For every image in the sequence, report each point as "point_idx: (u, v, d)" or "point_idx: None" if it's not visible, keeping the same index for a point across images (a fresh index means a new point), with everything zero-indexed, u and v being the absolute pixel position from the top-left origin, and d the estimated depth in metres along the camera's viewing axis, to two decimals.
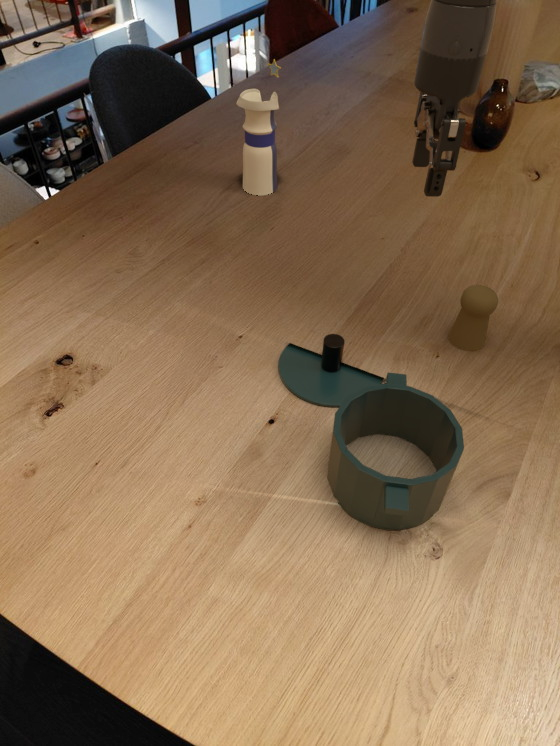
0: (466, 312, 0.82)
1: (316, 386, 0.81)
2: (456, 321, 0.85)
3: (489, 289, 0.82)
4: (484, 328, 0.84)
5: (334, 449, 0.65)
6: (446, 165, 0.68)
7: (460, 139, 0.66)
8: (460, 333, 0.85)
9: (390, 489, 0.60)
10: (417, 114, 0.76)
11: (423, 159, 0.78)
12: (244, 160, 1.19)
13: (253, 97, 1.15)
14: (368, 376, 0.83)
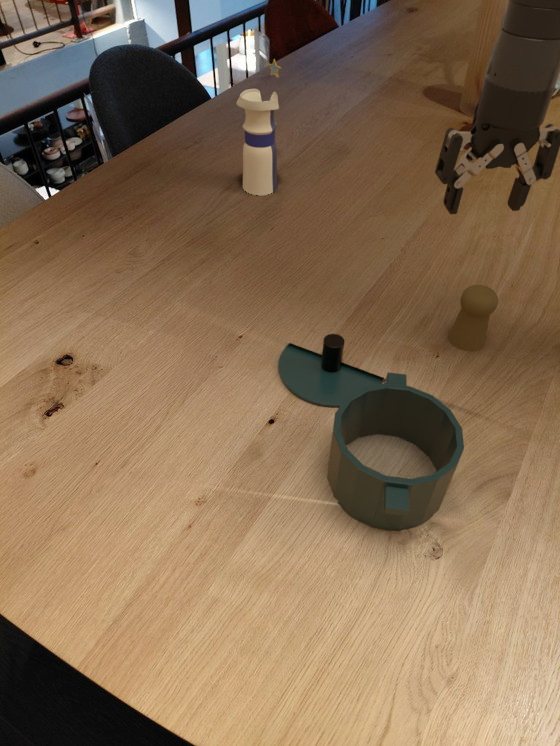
0: (466, 312, 0.82)
1: (316, 386, 0.81)
2: (456, 321, 0.85)
3: (489, 289, 0.82)
4: (484, 328, 0.84)
5: (334, 449, 0.65)
6: (439, 174, 0.70)
7: (448, 152, 0.67)
8: (460, 333, 0.85)
9: (390, 489, 0.60)
10: None
11: (513, 201, 0.74)
12: (244, 160, 1.19)
13: (253, 97, 1.15)
14: (368, 376, 0.83)
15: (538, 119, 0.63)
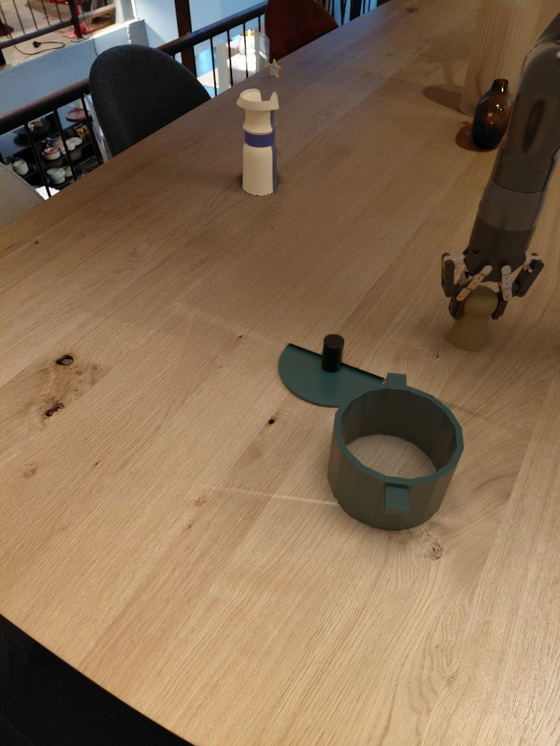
0: (466, 312, 0.82)
1: (316, 386, 0.81)
2: (456, 321, 0.85)
3: (489, 289, 0.82)
4: (484, 328, 0.84)
5: (334, 449, 0.65)
6: (444, 287, 0.81)
7: (444, 275, 0.78)
8: (460, 333, 0.85)
9: (390, 489, 0.60)
10: None
11: None
12: (244, 160, 1.19)
13: (253, 97, 1.15)
14: (368, 376, 0.83)
15: (521, 250, 0.73)
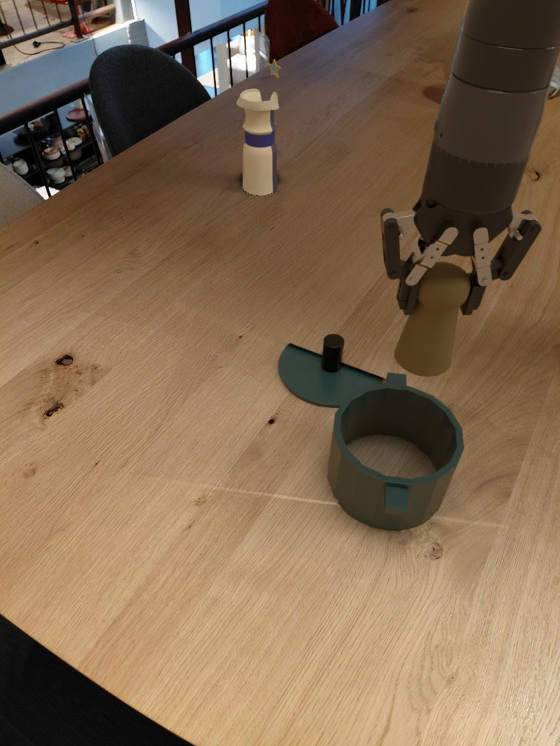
0: (422, 303, 0.54)
1: (316, 386, 0.81)
2: (409, 317, 0.57)
3: (457, 268, 0.53)
4: (450, 328, 0.55)
5: (334, 449, 0.65)
6: None
7: (385, 243, 0.49)
8: (415, 335, 0.56)
9: (390, 489, 0.60)
10: None
11: (464, 302, 0.55)
12: (244, 160, 1.19)
13: (253, 97, 1.15)
14: (368, 376, 0.83)
15: (503, 200, 0.44)
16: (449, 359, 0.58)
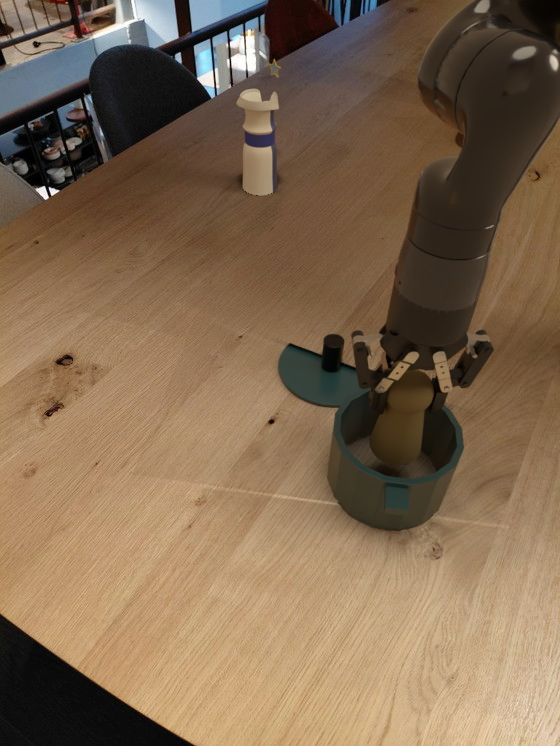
0: (391, 406, 0.60)
1: (316, 386, 0.81)
2: None
3: (422, 375, 0.59)
4: (417, 426, 0.61)
5: (334, 449, 0.65)
6: None
7: (355, 362, 0.55)
8: (386, 431, 0.62)
9: (390, 489, 0.60)
10: None
11: None
12: (244, 160, 1.19)
13: (253, 97, 1.15)
14: None
15: (455, 335, 0.50)
16: (418, 449, 0.64)
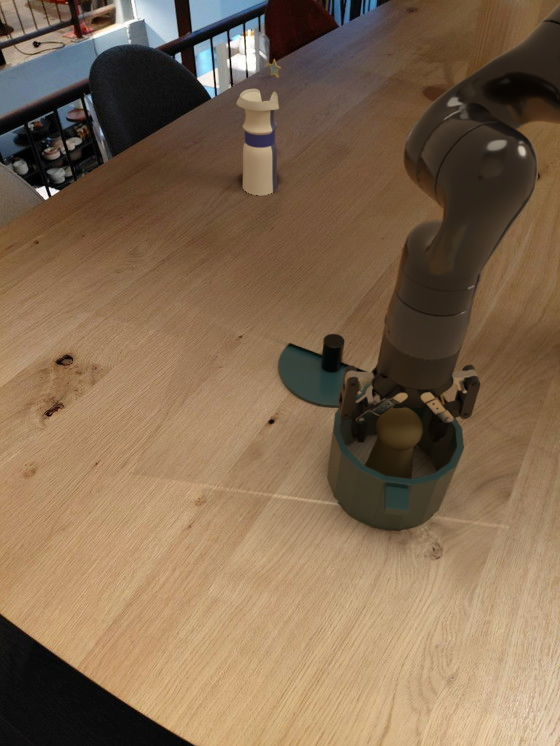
0: (383, 443, 0.64)
1: (316, 386, 0.81)
2: (374, 448, 0.67)
3: (411, 415, 0.64)
4: (407, 460, 0.66)
5: (334, 449, 0.65)
6: (339, 407, 0.62)
7: (344, 394, 0.59)
8: (378, 465, 0.67)
9: (390, 489, 0.60)
10: None
11: (432, 431, 0.65)
12: (244, 160, 1.19)
13: (253, 97, 1.15)
14: None
15: (441, 380, 0.54)
16: None
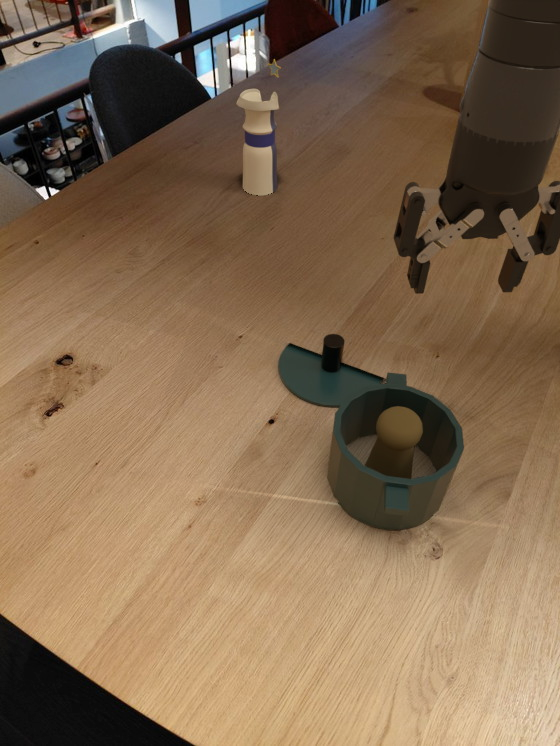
0: (383, 443, 0.64)
1: (316, 386, 0.81)
2: (374, 448, 0.67)
3: (411, 415, 0.64)
4: (407, 460, 0.66)
5: (334, 449, 0.65)
6: (397, 242, 0.51)
7: (405, 217, 0.48)
8: (378, 465, 0.67)
9: (390, 489, 0.60)
10: None
11: (504, 279, 0.54)
12: (244, 160, 1.19)
13: (253, 97, 1.15)
14: (368, 376, 0.83)
15: (531, 179, 0.44)
16: None
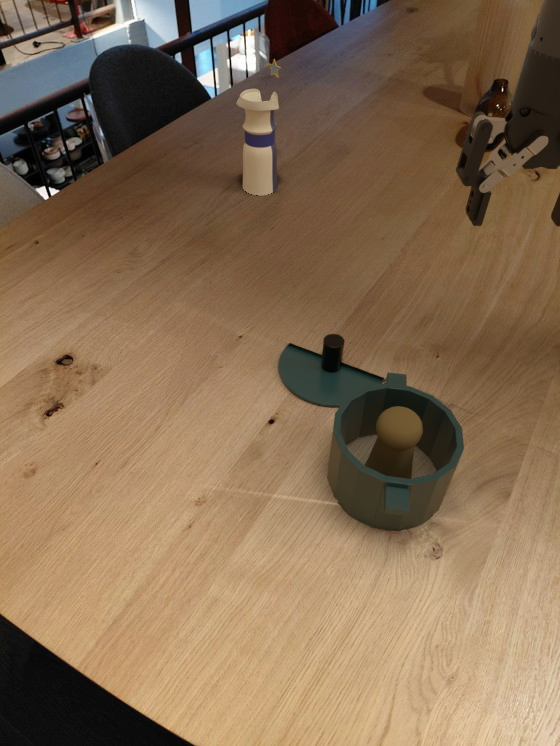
0: (383, 443, 0.64)
1: (316, 386, 0.81)
2: (374, 448, 0.67)
3: (411, 415, 0.64)
4: (407, 460, 0.66)
5: (334, 449, 0.65)
6: (460, 172, 0.54)
7: (473, 144, 0.51)
8: (378, 465, 0.67)
9: (390, 489, 0.60)
10: None
11: (558, 214, 0.57)
12: (244, 160, 1.19)
13: (253, 97, 1.15)
14: (368, 376, 0.83)
15: None
16: None
